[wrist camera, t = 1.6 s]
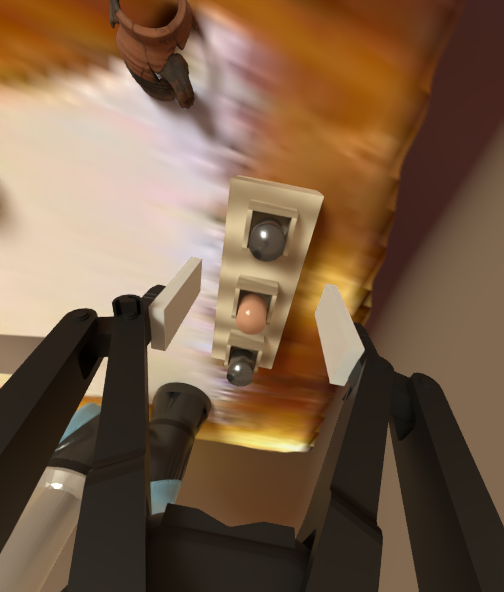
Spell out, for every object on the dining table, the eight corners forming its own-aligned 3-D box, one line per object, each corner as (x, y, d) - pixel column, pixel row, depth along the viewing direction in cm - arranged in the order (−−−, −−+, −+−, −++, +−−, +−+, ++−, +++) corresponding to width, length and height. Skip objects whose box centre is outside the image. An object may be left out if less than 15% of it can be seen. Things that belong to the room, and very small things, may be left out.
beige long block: (272, 347, 52) (270, 383, 43) (218, 337, 52) (206, 371, 43) (317, 190, 35) (329, 200, 27) (237, 174, 35) (225, 180, 27)
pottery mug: (114, 58, 30) (75, -26, 22) (176, 22, 31) (160, -72, 23) (171, 142, 32) (154, 92, 23) (229, 105, 32) (232, 45, 24)
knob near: (280, 251, 31) (280, 264, 27) (250, 245, 31) (246, 257, 27) (287, 220, 29) (289, 230, 25) (255, 214, 29) (251, 222, 25)
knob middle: (264, 318, 36) (262, 337, 33) (238, 313, 36) (233, 331, 33) (269, 296, 34) (268, 313, 31) (242, 291, 34) (237, 307, 31)
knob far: (252, 367, 42) (249, 388, 38) (230, 363, 42) (225, 383, 38) (256, 351, 40) (253, 371, 36) (233, 346, 40) (228, 366, 36)
